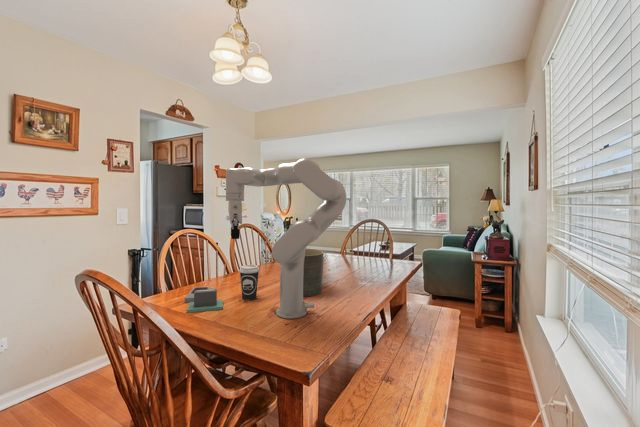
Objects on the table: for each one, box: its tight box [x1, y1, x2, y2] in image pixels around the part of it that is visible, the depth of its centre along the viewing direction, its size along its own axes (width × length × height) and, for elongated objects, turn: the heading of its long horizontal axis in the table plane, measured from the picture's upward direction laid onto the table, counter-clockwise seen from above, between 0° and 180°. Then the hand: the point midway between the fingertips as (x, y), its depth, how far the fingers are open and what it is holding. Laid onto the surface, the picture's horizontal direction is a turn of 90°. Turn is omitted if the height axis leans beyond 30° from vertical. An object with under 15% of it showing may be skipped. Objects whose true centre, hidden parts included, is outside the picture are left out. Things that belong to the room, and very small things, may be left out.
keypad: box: [184, 286, 214, 304], centre depth 144 cm, size 10×4×15 cm
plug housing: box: [194, 288, 218, 307], centre depth 130 cm, size 9×4×6 cm, turn 108°
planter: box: [303, 248, 325, 298], centre depth 156 cm, size 22×22×20 cm
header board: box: [186, 299, 224, 314], centre depth 130 cm, size 14×10×5 cm
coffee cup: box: [238, 264, 261, 301], centre depth 143 cm, size 10×10×15 cm
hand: (234, 237), depth 130 cm, fingers open, 9 cm apart
